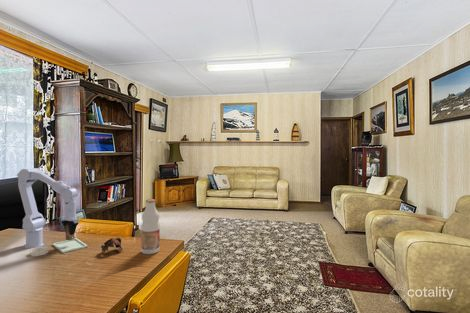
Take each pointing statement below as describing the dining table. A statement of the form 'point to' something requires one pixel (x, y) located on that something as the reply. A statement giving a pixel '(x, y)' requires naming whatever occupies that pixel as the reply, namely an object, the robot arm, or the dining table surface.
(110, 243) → the brown arched lump
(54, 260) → the dining table surface
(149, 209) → the fruit juice
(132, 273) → the dining table surface
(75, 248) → the sage tray
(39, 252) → the white octagonal dish
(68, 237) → the dowel pin
